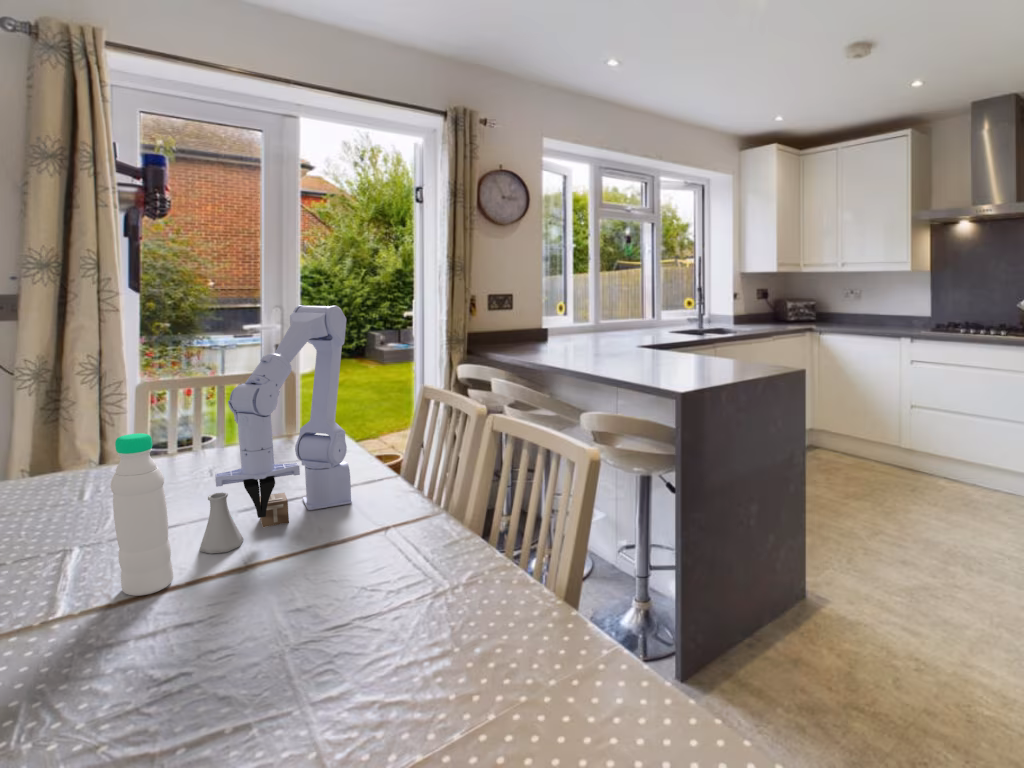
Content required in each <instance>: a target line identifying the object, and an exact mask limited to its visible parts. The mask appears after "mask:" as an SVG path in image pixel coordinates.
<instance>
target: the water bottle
mask: <svg viewBox="0 0 1024 768" xmlns="http://www.w3.org/2000/svg"><path fill="white" fill-rule="evenodd" d="M114 443H115V451H116V454H117V455H118V457H120V458H119V459H120V460H119V463H118V464H117V466H116V467H115V472H114V474H113V476H112V478H111V480H110V489H111V490H110V491H111V492H112V509H113V518H114V519H113V520H114V526H115V527H114V528H115V535H116V540H117V545H118V564H119V567H120V583H121V585H120V587H121V590H122V591H123V593H124V594H126V595H129V596H134V597H135V596H136V597H138V596H139V597H140V596H146V595H151V594H154V593H157V592H160V591H163V590H164V589H165V588H166V587H168V586H169V585H170V584H171V583H172V582H173V580H174V569H173V564H172V560H171V557H172V556H171V555H172V549H171V543H170V540H169V517H168V505H167V501H166V499H167V498H166V493H165V488H164V484H165V477H164V474H163V472H162V471H161V469H160V468H159V466H157V463H156V462H155V460H154V459H153V458H152V457H151V454H150V453H151V452H152V450H153V449H152V448H153V439H152V436H151V435H150V434H147V433H140V432H139V433H137V432H136V433H129V434H125V435H121V436H118V437H117V438H116V439H115V442H114Z"/></svg>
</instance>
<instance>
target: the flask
mask: <svg viewBox="0 0 1024 768" xmlns="http://www.w3.org/2000/svg"><path fill="white" fill-rule="evenodd" d="M228 496H229V493H228V492H223V491H222V492H214V493H212V494H209V496H207V500H208V501H209V504H210V505H209V507H210V508H209V509H210V510H209V516H208V519H207V524H206V528H205V530H204V531H205V532H204V534H203V537H202V540H201V543H200V547H199V550H198V551H199V552H202V553H207V554H221V553H222V554H223V553H228V552H230V551H232V550H234V549H237V548H239V547H241V545H242V543H243V541H244V537H243V535H242V533H241V531H240V530H239V528H238V526H237V524H236V522H235V521H234V519H233V516H232V515H231V512H230V509H229V507H228V499H227V498H228Z"/></svg>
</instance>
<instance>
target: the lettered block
mask: <svg viewBox="0 0 1024 768" xmlns="http://www.w3.org/2000/svg"><path fill="white" fill-rule="evenodd" d="M260 505H261V495H260ZM289 515H290V514H289V500H288V498H287V495H286V493H285V492H280V493H273V494H272V493H271V495H270V498H269V501H268V505H267V510H266V517H261V518H259V519H260V523H261V527H262V528H269V527H273V526H279V525H285V524H289V523H290V520H289V519H290V517H289Z"/></svg>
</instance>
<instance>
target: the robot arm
mask: <svg viewBox="0 0 1024 768" xmlns="http://www.w3.org/2000/svg"><path fill="white" fill-rule="evenodd" d="M289 324H290V326H289V328H288V329H287V331H286V333H285V334H284V336H283V338H282V339H281V341H280V343H279V344H278V346H277V347H276V349H275V351H274V353H267V354H266V355H263V356H262V357H261V359H260V362H259V363H258V365H257V366H255V368H254V370H253V371H252V372H251V374H250V376H249V377H248V378H247V379H246V381H245V382H244V383H241V384H238V385H237V386H236V387H235V388H233V390H231V393H230V396H229V400H228V401H227V405H228V408H229V410H230V411H231V413H232V414H233V416H234V421H235V423H236V424H237V429H238V442H239V455H240V468H238V469H233V470H229V471H224V472H218V473H215V474H214V477H215V487H216V488H217V487H218V488H219V487H223V486H224V485H231V484H237V483H243V487H244V489H245V490H246V492H247V494H248V495H249V498H250V499H251V501H252V502H253V505H254V507H255V509H256V510H255V511H256V514H257V518H258V519H260V518H261V517H266V510H267V505H268V501H269V498H270V495H272V493H273V490H274V488H275V485H276V479H275V478H280V477H286V476H292V475H293V476H300V474H301V471H300V470H301V469H300V465H299V463H298V462H294V463H293V462H292V463H275V457H274V456H275V454H274V442H273V439H274V438H273V429H272V427H273V426H272V414H273V412H274V411H275V410H276V409H277V405H278V398H279V396H280V389H281V388H282V387H283V385H284V384H285V382H286V380H287V379H288V377H289V376H290V374H291V372H292V370H293V368H292V365H291V362H292V361H294V359H295V357H296V356H297V355H298V354H299V352H300V351H302V349H303V348H304V347H305V345H306V344H307V343H308V344H310V345H312V347H314V348H315V350H316V356H315V363H314V364H315V366H314V374H313V375H314V376H313V388H312V396H311V407H310V408H311V409H310V419H309V421H307V422H306V423H305V424H304V425H302V426H301V427H300V428H299V434H298V438H297V440H296V442H295V446H294V447H295V449H294V450H295V451H294V452H295V456H296V458H297V459H298V460H299V461H300V462H301V466H304V476H305V477H304V478H305V494H306V496H303V497H302V501H303V503H304V505H305V507H306V509H307V510H308V511H314V510H318V509H319V510H320V509H325V508H331V507H337V506H338V507H339V506H343V505H348V504H352V503H353V500H352V492H351V491H352V489H351V488H352V486H351V472H350V467H349V462H347V461H343V460H344V459H345V457H346V454H347V451H348V449H347V448H348V447H347V442H346V431H345V429H343V427H342V426H340V425H339V424H338V423H337V422H336V414H337V403H338V391H339V383H340V371H341V370H340V369H341V360H342V350H343V349H342V348H343V345H345V342H346V341H345V339H346V327H347V317H346V316H345V314H344V312H343V310H342V308H340V307H339V306H338V305H330V306H329V305H327V306H326V305H304V304H299V305H297V306H296V307H295V308H294V309H293V312H292V313H291V314H290V315H289ZM321 434H323V435H321ZM324 434H325V435H324ZM260 496H261V505H260Z"/></svg>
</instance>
